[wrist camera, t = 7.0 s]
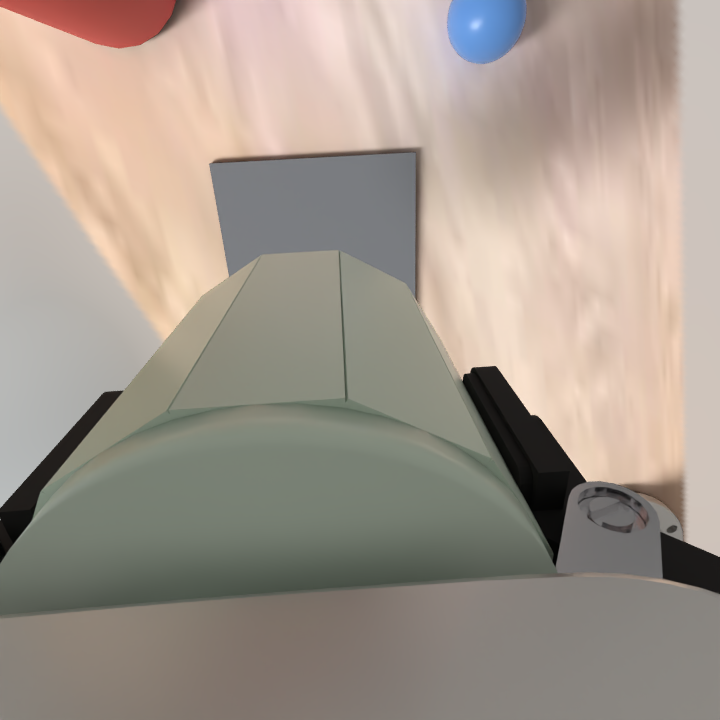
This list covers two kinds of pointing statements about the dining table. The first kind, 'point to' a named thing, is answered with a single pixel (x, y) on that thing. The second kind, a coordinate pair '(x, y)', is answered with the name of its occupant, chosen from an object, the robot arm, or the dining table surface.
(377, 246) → the slate mat
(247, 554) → the mint green domed cylinder
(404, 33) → the dining table surface
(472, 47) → the marble
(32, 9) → the beer can
